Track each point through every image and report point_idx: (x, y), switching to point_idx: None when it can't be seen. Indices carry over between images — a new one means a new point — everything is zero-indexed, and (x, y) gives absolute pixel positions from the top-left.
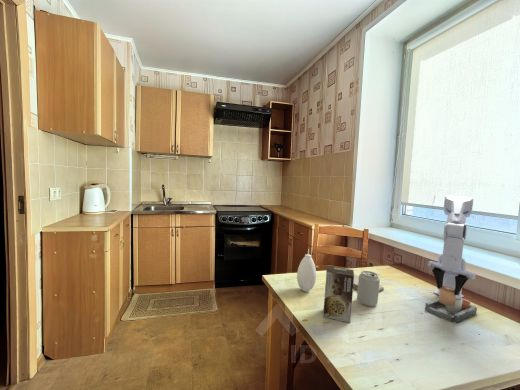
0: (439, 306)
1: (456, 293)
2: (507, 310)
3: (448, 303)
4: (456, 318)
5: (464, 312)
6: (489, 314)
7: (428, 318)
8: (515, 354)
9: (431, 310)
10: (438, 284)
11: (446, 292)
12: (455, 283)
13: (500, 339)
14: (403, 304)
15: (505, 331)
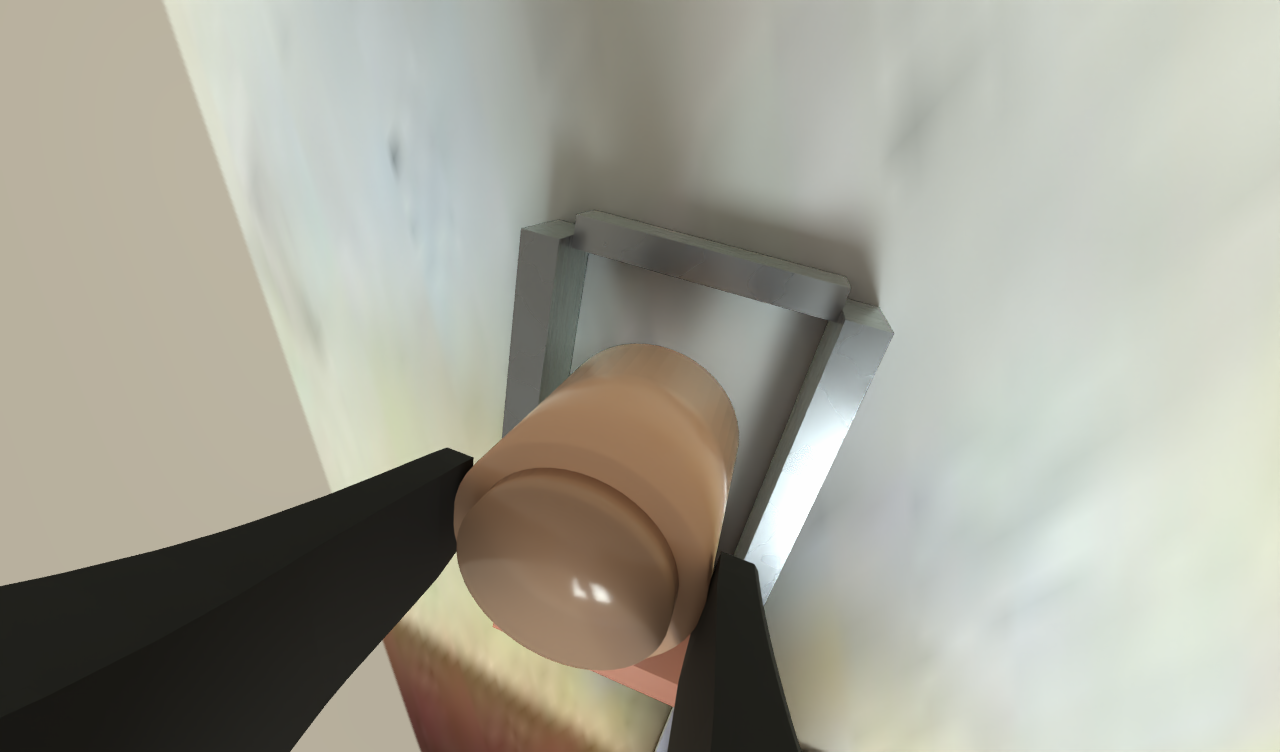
0: (752, 508)
1: (421, 459)
2: (434, 716)
3: (600, 356)
4: (541, 227)
5: (511, 411)
6: (467, 605)
7: (810, 32)
8: (169, 17)
9: (802, 269)
10: (729, 623)
11: (572, 434)
12: (226, 602)
13: (300, 216)
14: (1210, 210)
15: (337, 399)
